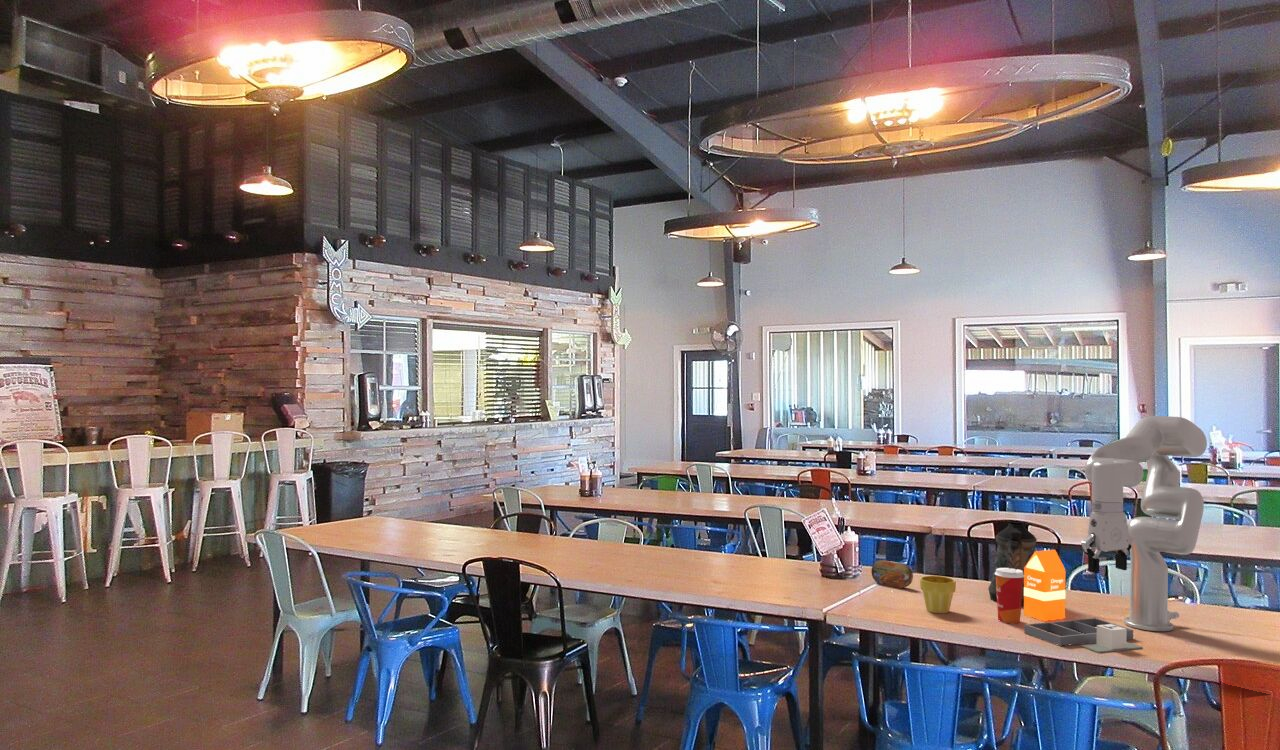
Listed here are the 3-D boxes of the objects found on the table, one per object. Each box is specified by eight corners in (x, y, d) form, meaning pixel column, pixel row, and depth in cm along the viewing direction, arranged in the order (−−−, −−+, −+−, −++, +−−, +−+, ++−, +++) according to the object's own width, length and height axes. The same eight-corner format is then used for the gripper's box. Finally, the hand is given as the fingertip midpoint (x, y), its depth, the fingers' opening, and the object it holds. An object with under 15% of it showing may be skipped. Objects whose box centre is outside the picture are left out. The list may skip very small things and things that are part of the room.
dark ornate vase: (1029, 594, 303) (1030, 519, 303) (1057, 609, 283) (1058, 529, 283) (980, 594, 302) (981, 519, 302) (1005, 609, 283) (1006, 528, 283)
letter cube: (1126, 647, 241) (1126, 628, 241) (1111, 649, 239) (1111, 630, 239) (1111, 642, 246) (1111, 623, 246) (1096, 644, 244) (1096, 625, 244)
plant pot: (925, 614, 274) (926, 582, 274) (915, 606, 284) (916, 575, 284) (960, 615, 274) (960, 583, 274) (948, 606, 284) (949, 575, 284)
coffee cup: (999, 615, 274) (999, 566, 274) (1027, 620, 269) (1028, 570, 269) (989, 621, 268) (990, 570, 268) (1018, 626, 262) (1019, 574, 262)
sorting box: (1094, 626, 263) (1095, 618, 263) (1133, 639, 251) (1133, 630, 251) (1024, 633, 255) (1024, 624, 255) (1060, 646, 243) (1060, 637, 243)
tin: (870, 582, 318) (871, 558, 318) (875, 581, 320) (876, 557, 320) (909, 590, 307) (909, 565, 307) (914, 589, 309) (914, 564, 309)
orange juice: (1023, 615, 275) (1024, 549, 276) (1044, 612, 279) (1044, 547, 279) (1044, 621, 268) (1045, 553, 268) (1065, 618, 272) (1066, 551, 272)
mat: (1123, 642, 248) (1123, 640, 248) (1142, 648, 242) (1142, 646, 242) (1080, 646, 243) (1080, 645, 243) (1098, 653, 237) (1098, 651, 237)
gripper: (1094, 511, 239) (1094, 576, 239) (1143, 507, 245) (1143, 571, 245) (1071, 507, 246) (1071, 570, 246) (1120, 503, 252) (1120, 565, 252)
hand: (1107, 570), depth 245 cm, fingers open, 9 cm apart
